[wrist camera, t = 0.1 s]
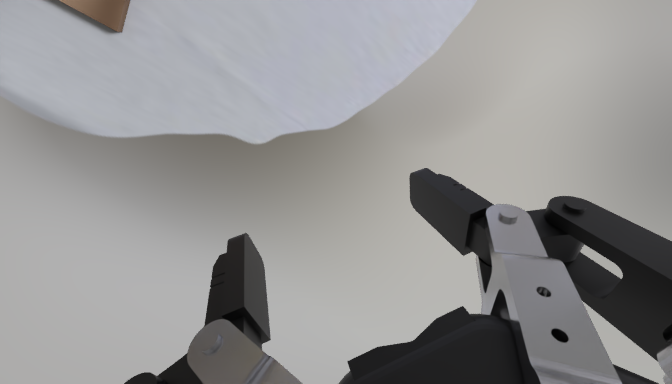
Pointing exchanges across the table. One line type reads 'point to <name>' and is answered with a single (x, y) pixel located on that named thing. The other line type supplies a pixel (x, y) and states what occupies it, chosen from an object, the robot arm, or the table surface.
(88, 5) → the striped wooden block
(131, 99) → the table surface
